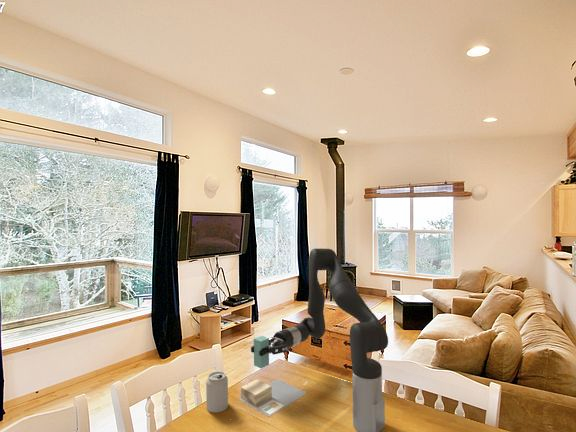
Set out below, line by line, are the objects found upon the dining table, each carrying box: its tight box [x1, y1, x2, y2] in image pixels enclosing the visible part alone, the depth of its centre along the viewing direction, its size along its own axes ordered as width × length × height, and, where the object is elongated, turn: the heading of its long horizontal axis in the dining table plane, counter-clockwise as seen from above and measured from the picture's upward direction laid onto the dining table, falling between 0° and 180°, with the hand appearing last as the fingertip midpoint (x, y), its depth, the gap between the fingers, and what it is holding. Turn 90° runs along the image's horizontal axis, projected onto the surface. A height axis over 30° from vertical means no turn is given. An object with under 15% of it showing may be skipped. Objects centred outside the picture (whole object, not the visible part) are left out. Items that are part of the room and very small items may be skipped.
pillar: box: [253, 335, 270, 369], centre depth 126 cm, size 4×4×10 cm
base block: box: [240, 379, 272, 406], centre depth 124 cm, size 8×8×4 cm
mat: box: [238, 378, 308, 418], centre depth 125 cm, size 16×20×1 cm
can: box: [205, 371, 229, 414], centre depth 119 cm, size 8×8×12 cm
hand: (255, 351), depth 124 cm, fingers closed on pillar, 4 cm apart
